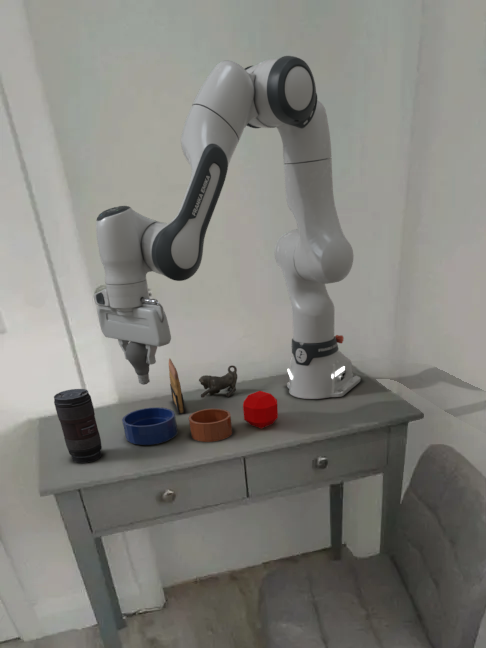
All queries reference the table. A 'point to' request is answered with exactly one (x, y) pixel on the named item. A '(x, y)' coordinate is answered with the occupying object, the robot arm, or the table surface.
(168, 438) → the blue bowl
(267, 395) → the ball
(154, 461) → the table surface
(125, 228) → the robot arm
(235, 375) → the dog figurine
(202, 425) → the terracotta dish
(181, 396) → the ammunition clip
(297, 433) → the table surface
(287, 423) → the table surface
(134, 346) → the light bulb
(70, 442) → the camera lens
